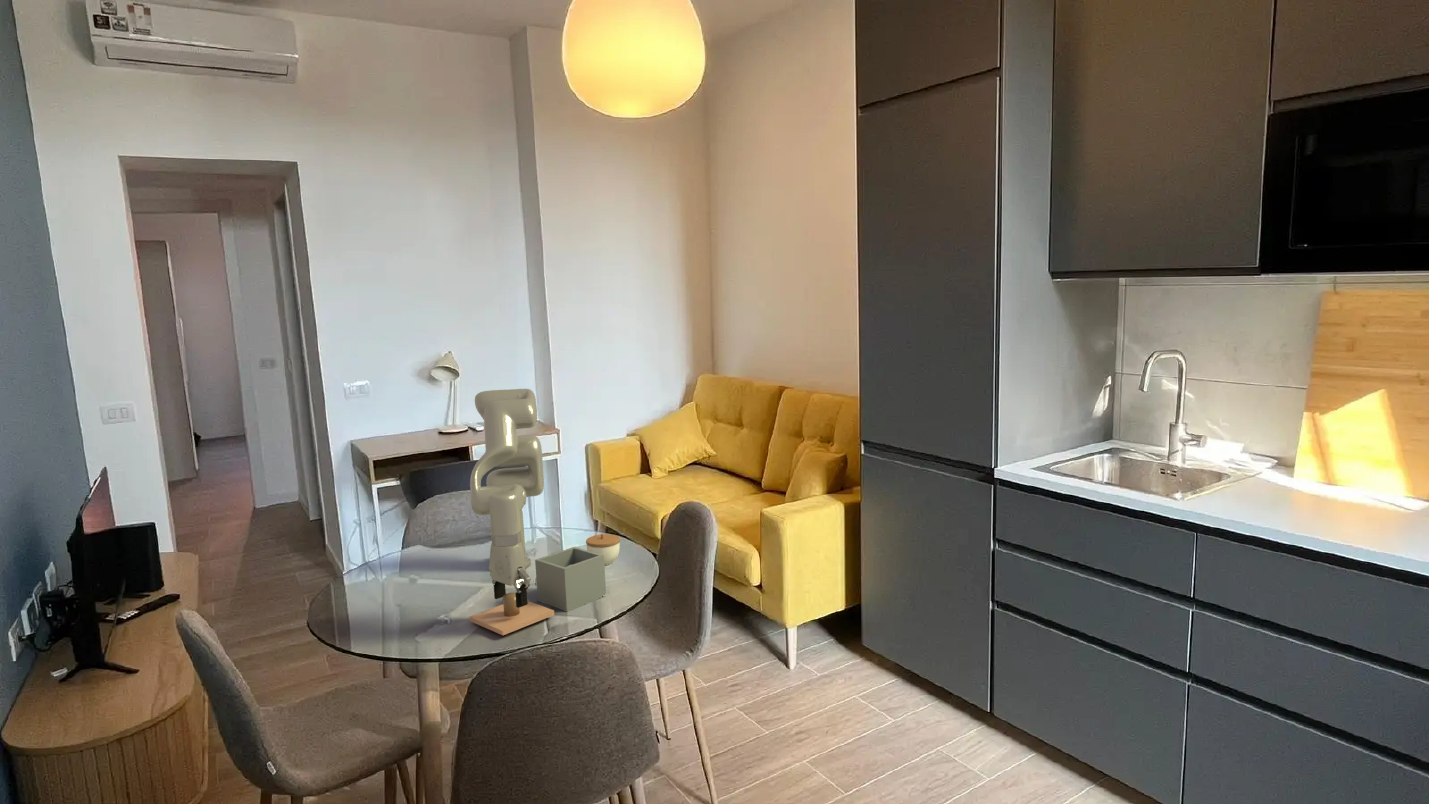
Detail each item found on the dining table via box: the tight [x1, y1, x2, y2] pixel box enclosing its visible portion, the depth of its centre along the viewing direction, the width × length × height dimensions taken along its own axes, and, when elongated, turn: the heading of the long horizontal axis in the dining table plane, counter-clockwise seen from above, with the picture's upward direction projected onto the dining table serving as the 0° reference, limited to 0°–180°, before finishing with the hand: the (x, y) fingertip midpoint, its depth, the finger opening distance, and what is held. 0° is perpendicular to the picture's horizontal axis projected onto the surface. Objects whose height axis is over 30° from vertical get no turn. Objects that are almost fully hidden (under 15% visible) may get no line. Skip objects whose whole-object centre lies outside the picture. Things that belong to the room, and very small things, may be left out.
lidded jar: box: [585, 533, 621, 566], centre depth 254 cm, size 11×11×9 cm
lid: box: [469, 592, 555, 636], centre depth 210 cm, size 15×16×7 cm
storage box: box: [534, 546, 607, 612], centre depth 224 cm, size 13×14×12 cm
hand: (511, 601), depth 210 cm, fingers open, 9 cm apart
